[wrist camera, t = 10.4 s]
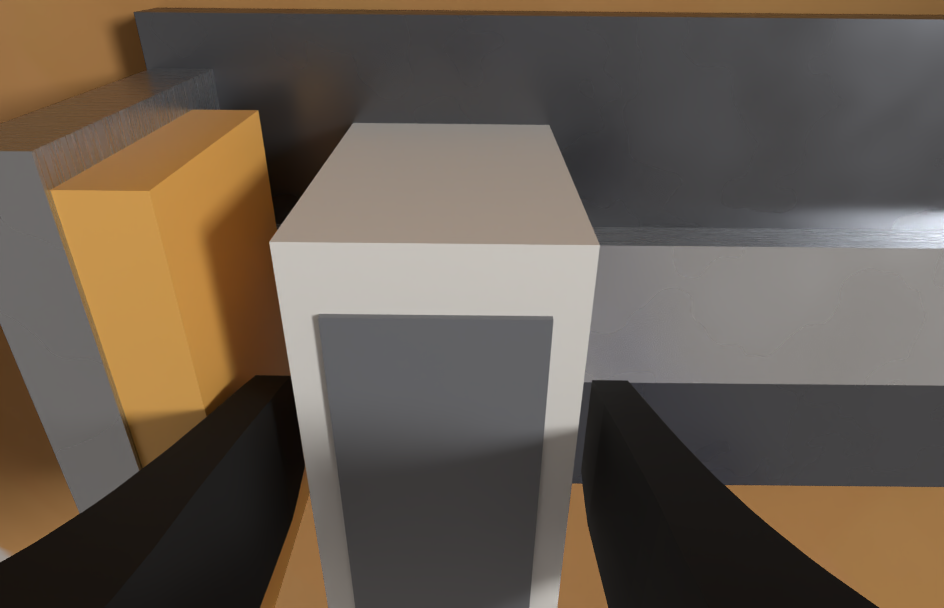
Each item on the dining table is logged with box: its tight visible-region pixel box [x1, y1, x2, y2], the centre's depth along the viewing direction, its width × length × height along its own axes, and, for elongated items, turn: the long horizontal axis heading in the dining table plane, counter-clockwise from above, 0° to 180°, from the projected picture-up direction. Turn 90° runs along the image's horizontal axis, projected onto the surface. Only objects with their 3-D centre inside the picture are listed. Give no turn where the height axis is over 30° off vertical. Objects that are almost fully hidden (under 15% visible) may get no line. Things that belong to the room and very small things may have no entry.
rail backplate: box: [0, 8, 944, 513], centre depth 13 cm, size 12×22×7 cm, turn 90°
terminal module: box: [269, 123, 600, 608], centre depth 12 cm, size 8×4×6 cm, turn 179°
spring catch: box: [50, 110, 310, 608], centre depth 12 cm, size 9×1×4 cm, turn 179°
